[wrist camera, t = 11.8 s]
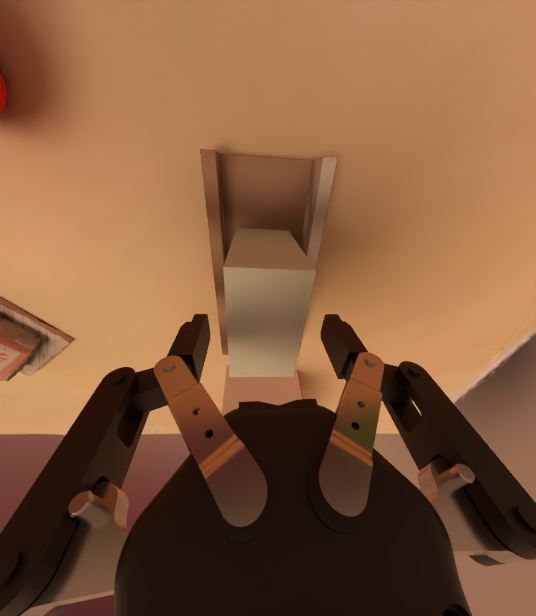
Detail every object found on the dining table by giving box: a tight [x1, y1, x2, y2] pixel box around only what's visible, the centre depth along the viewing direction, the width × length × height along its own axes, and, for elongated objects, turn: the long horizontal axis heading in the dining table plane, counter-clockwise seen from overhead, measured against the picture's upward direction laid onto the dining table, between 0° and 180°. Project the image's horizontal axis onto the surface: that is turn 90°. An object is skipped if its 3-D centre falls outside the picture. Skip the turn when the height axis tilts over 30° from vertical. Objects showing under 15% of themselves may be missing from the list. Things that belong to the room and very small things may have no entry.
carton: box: [223, 228, 316, 377], centre depth 17 cm, size 9×5×10 cm, turn 176°
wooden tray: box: [200, 149, 337, 357], centre depth 20 cm, size 20×10×4 cm, turn 177°
